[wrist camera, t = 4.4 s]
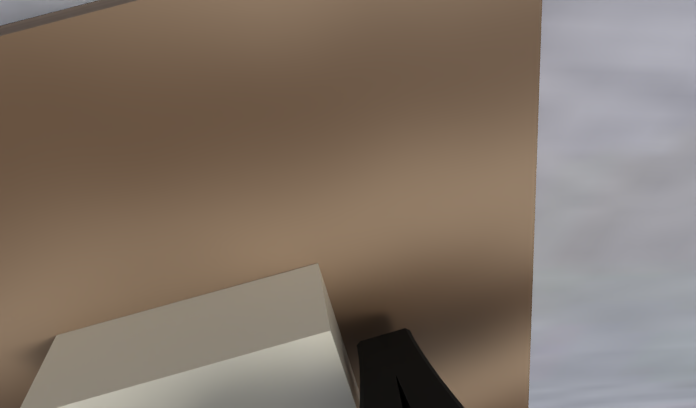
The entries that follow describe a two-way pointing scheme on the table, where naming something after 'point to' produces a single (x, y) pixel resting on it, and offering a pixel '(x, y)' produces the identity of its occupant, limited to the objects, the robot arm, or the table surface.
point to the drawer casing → (276, 171)
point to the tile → (208, 353)
